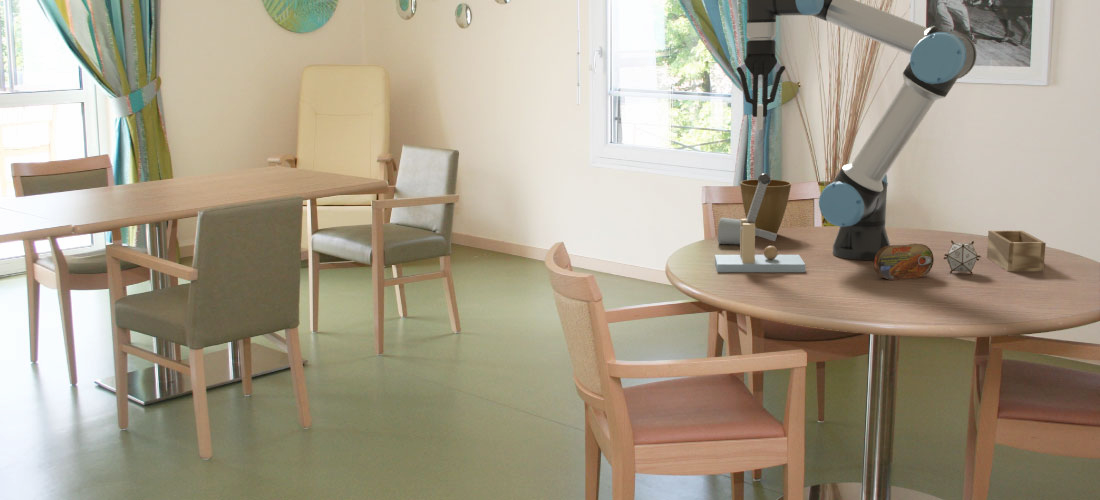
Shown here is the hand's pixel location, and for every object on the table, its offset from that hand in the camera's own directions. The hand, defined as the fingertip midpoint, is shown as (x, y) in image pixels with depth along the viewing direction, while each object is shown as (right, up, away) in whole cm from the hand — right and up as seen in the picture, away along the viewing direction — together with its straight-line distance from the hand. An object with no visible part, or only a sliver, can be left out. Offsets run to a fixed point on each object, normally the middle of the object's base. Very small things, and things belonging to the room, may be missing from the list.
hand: (759, 129), depth 276 cm
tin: (+31, -39, -23) cm, 55 cm away
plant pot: (+9, -28, +35) cm, 45 cm away
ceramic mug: (-3, -31, +24) cm, 39 cm away
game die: (+46, -38, -19) cm, 63 cm away
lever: (-3, -29, -10) cm, 31 cm away
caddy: (+63, -36, -11) cm, 74 cm away
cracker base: (-2, -37, -8) cm, 38 cm away
